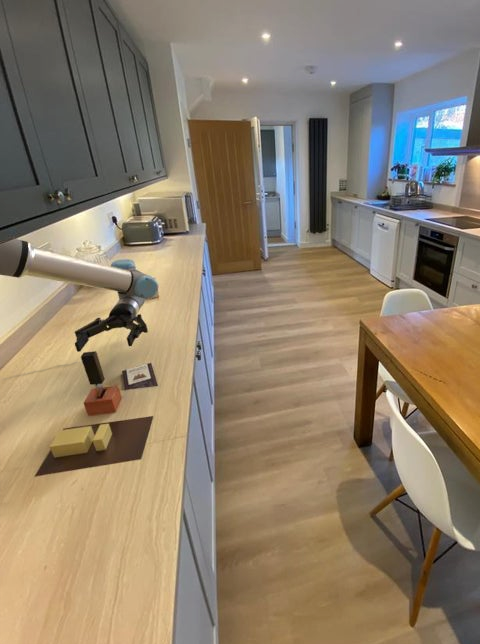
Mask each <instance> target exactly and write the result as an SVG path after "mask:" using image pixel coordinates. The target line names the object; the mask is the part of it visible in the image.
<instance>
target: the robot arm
mask: <svg viewBox="0 0 480 644" xmlns="http://www.w3.org/2000/svg"><path fill="white" fill-rule="evenodd" d="M0 276H6V277H12V278H17V279H21V278H22V277H24V276H27V277H28V276H29V277H34V278H41V279H46V280H51V281H55V282H63V283H68V284H74V285H79V286H85V287H90V288H96V289H101V290H107V291H113V292H117V296H118V300H117V302H116V304H114V306H113V307H112V309H111V310H110V312H109V314H108V316H107V317H106V318H104V319H101V317H97V318H95V319H94V320H93V321H90V322H88V323H87V324H86V325H84V326H83V327H80V328H79V329H77V330H75V331H74V334H75V338H76V339H75V342H74V346H75V349H76V352H77V353H81V351H82V350H83V348H84V347H85V346H86V345H87V343H88V342H89V340H90V338H93V337H95V336H96V335H97V336H98V334H101V333H103V332H109V331H111V330H113V329H122V328H125V329H126V330H129V331H130V332H129V333H128V335H127V336H126V341H127V346H128V347H133V344H134V342H135V340H136V339H138V338H139V337H140V335H141V334H142V333H144V334H147V333H148V332H149V330H148V325H147V324H146V322H145V321H144V320H143V317H142V314H141V313H139V312H140V310H141V308H142V307H143V306H144V304H145V301H146V300H150V299H149V298H152V297H153V296H155V295H156V293H157V291H158V292H159V283H158V281H157V279H156V278H155V277H152V275H148V274H146V273H143V272H141V270H140V271H139V270H138V269H137V266H136V264H135V261H134V260H133V259H129V258H124V259H118V260H114V261H112V262H111V264H109V265H108V264H104V263H101V262H96V261H93V260H88V259H85V258H80V257H75V256H72V255H67V254H62V253H58V252H54V251H51V250H46V249H43V248H38V247H35V246H32V244H31V243H30V242H29V241H27V240H23V239H18V238H16V239H13V240H11V241H8V242H5V243H4V244H0ZM154 278H155V279H156V280H155V279H154ZM145 299H146V300H145ZM152 299H153V298H152Z"/></svg>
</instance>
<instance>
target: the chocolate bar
mask: <svg viewBox="0 0 480 644" xmlns="http://www.w3.org/2000/svg"><path fill="white" fill-rule="evenodd" d="M155 374H156V373H155V371H154V367H153V364H152V362H148V363H145V364H142V365H138V366H134V367H131V368H127V369H123V370H121V376H122V381H123V389H124V391H130V390H139V389H147V388H154V387H159V385H158V381H157V377H156V375H155Z"/></svg>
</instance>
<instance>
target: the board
mask: <svg viewBox="0 0 480 644" xmlns="http://www.w3.org/2000/svg"><path fill="white" fill-rule="evenodd" d="M153 420H154V415H151V416H149V415H148V416H142V417H135V418H127V419H121V420H113V421H107V422H100V423H93V424H86V425H78V426H72V427H65V428H62V430H67V429H74V428H81V427H88V426H91V427H92V430H93V433H94V436H95V434H96V432H97V430H98V428H99V426H100V425H102V424H109V426H110V429H111V432H112V435H111V438H110V440H109V443H108V445H107V448H106V450H101V451H96V448H95V446H94V443H93V441H92V443H91V446H90V448H89V450H88V452H87V453H81V454H75V455H68V456H62V457H55V458H54V456H53V454H52V451H51V449H49V451H48V453H47V455H46V456H45V458H44V459H43V461H42V463H41V465H40V466H39V468H38V469H37V471H36V473H35V474H34V478H35V477H41V476H48V475H53V474H59V473H67V472H71V471H78V470H83V469H89V468H96V467H101V466H108V465H114V464H120V463H126V462H133V461H140V460H142V459H143V455H144V451H145V448H146V444H147V441H148V437H149V434H150V431H151V427H152V423H153Z"/></svg>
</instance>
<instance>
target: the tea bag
mask: <svg viewBox="0 0 480 644" xmlns="http://www.w3.org/2000/svg"><path fill="white" fill-rule="evenodd" d="M153 278H154V279H155V280H156V281H157V279H156V277H153ZM159 293H160V292H159V290H158V291H157V293H156V295H155V296H153V297H152V298H149V299H148V300H151V299H152V300H153V299H157V298H160V294H159ZM146 300H147V299H145V301H146Z"/></svg>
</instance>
